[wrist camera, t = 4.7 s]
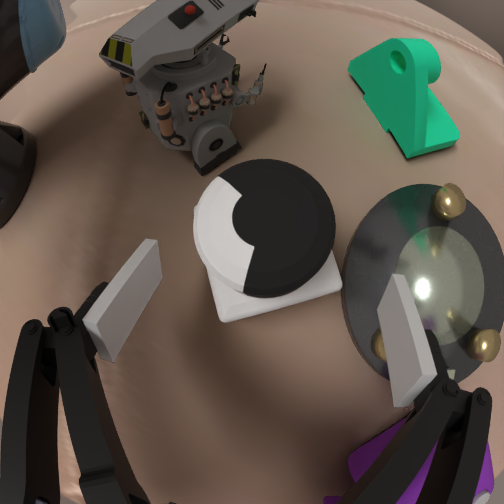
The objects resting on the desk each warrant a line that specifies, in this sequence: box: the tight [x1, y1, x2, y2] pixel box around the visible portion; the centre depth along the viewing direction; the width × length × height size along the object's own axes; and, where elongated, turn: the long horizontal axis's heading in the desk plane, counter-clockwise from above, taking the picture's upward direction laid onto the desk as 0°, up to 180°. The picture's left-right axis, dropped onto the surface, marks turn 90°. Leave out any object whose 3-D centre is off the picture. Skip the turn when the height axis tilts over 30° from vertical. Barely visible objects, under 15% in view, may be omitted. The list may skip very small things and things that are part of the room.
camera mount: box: [348, 38, 460, 158], centre depth 21 cm, size 12×8×10 cm, turn 20°
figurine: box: [99, 0, 266, 176], centre depth 19 cm, size 9×12×15 cm
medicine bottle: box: [193, 159, 342, 323], centre depth 17 cm, size 7×7×12 cm
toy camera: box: [323, 418, 494, 504], centre depth 14 cm, size 11×14×10 cm
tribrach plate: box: [341, 183, 504, 383], centre depth 20 cm, size 18×18×4 cm
